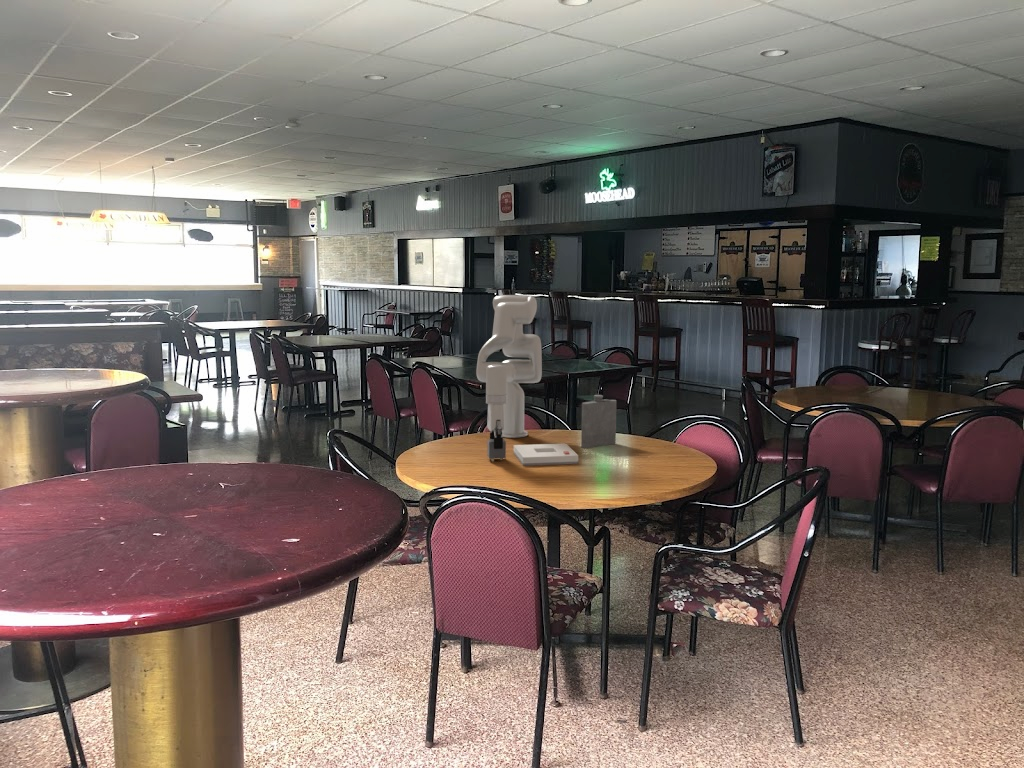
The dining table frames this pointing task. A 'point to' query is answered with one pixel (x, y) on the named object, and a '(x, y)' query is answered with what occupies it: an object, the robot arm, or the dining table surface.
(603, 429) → the hip flask
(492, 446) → the plug
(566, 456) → the socket
